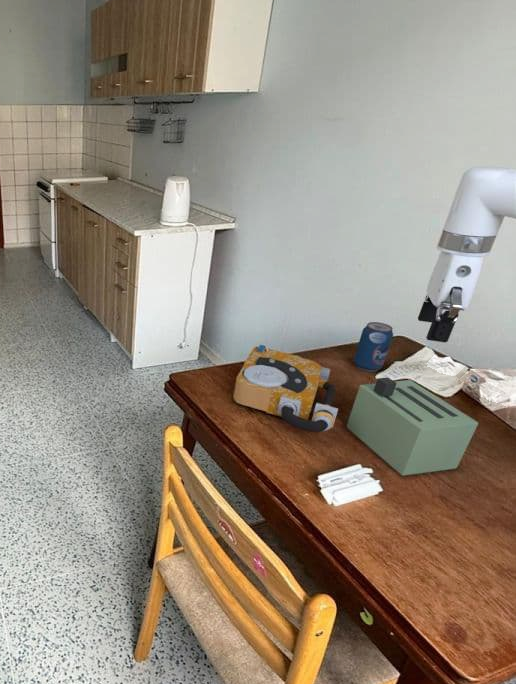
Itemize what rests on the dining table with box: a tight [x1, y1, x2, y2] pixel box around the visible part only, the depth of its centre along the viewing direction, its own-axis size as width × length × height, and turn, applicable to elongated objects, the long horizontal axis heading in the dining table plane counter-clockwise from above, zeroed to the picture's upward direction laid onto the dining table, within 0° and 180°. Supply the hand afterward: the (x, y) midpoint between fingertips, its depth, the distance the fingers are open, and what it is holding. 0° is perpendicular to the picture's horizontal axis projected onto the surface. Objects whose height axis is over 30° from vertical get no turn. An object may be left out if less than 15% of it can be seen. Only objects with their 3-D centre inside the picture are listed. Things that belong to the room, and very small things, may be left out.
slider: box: [374, 376, 397, 397], centre depth 96 cm, size 2×2×3 cm
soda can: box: [353, 321, 394, 372], centre depth 126 cm, size 7×7×12 cm
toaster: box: [346, 379, 479, 476], centre depth 96 cm, size 12×16×11 cm
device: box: [233, 344, 339, 433], centre depth 112 cm, size 23×8×30 cm
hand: (431, 330), depth 91 cm, fingers open, 9 cm apart
